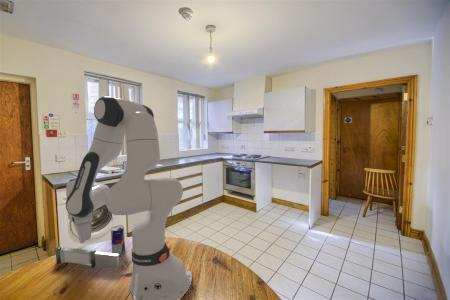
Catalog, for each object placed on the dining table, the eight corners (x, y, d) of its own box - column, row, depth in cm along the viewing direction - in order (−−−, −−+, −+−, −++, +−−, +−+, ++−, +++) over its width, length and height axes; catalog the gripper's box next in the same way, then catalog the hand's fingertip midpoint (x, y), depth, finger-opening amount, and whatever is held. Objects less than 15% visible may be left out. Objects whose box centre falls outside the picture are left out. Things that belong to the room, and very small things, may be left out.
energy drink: (119, 256, 91) (118, 231, 90) (109, 255, 92) (107, 230, 91) (127, 249, 96) (126, 225, 95) (117, 248, 98) (116, 224, 96)
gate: (92, 262, 86) (91, 250, 86) (88, 265, 84) (88, 253, 84) (64, 259, 88) (63, 247, 88) (60, 262, 86) (60, 250, 86)
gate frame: (120, 267, 84) (119, 252, 84) (116, 270, 83) (116, 255, 82) (59, 260, 89) (58, 246, 88) (55, 263, 87) (54, 249, 86)
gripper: (68, 207, 96) (70, 234, 98) (75, 222, 82) (77, 254, 83) (84, 203, 101) (85, 230, 102) (93, 217, 86) (95, 248, 88)
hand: (82, 241), depth 93 cm, fingers closed
